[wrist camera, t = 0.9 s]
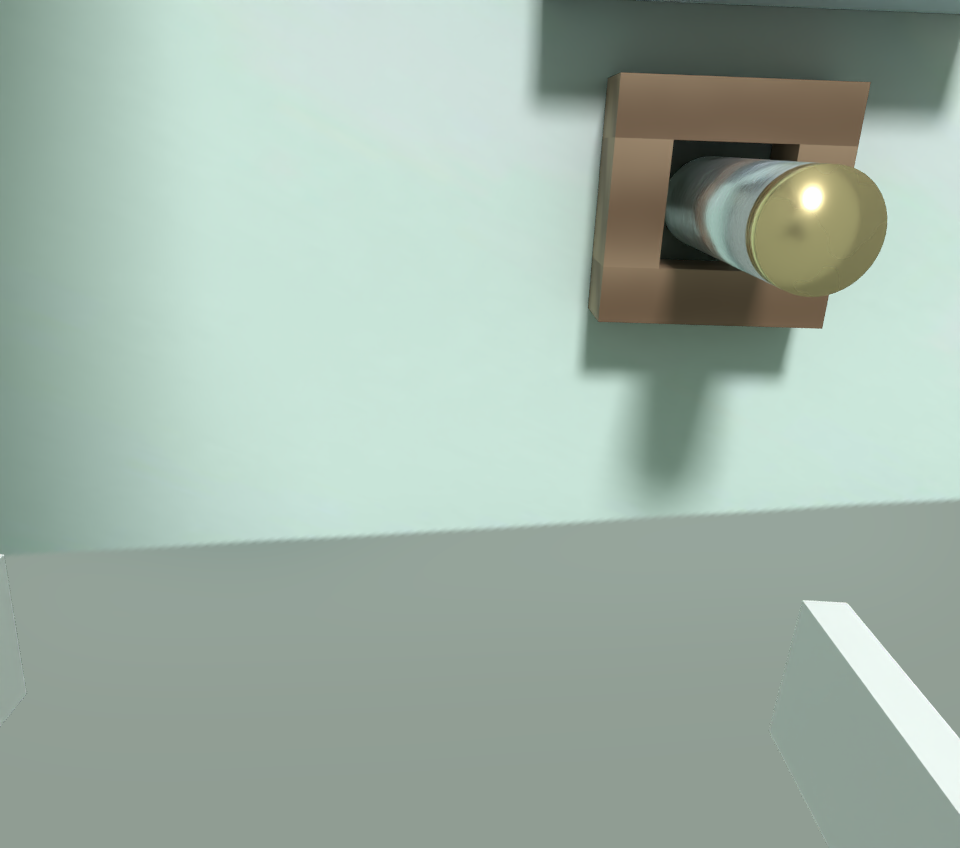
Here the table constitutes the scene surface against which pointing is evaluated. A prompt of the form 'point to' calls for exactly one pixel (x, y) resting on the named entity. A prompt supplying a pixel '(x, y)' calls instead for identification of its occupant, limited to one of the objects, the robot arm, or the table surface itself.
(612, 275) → the socket block
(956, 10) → the tray
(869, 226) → the pin
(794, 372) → the table surface
